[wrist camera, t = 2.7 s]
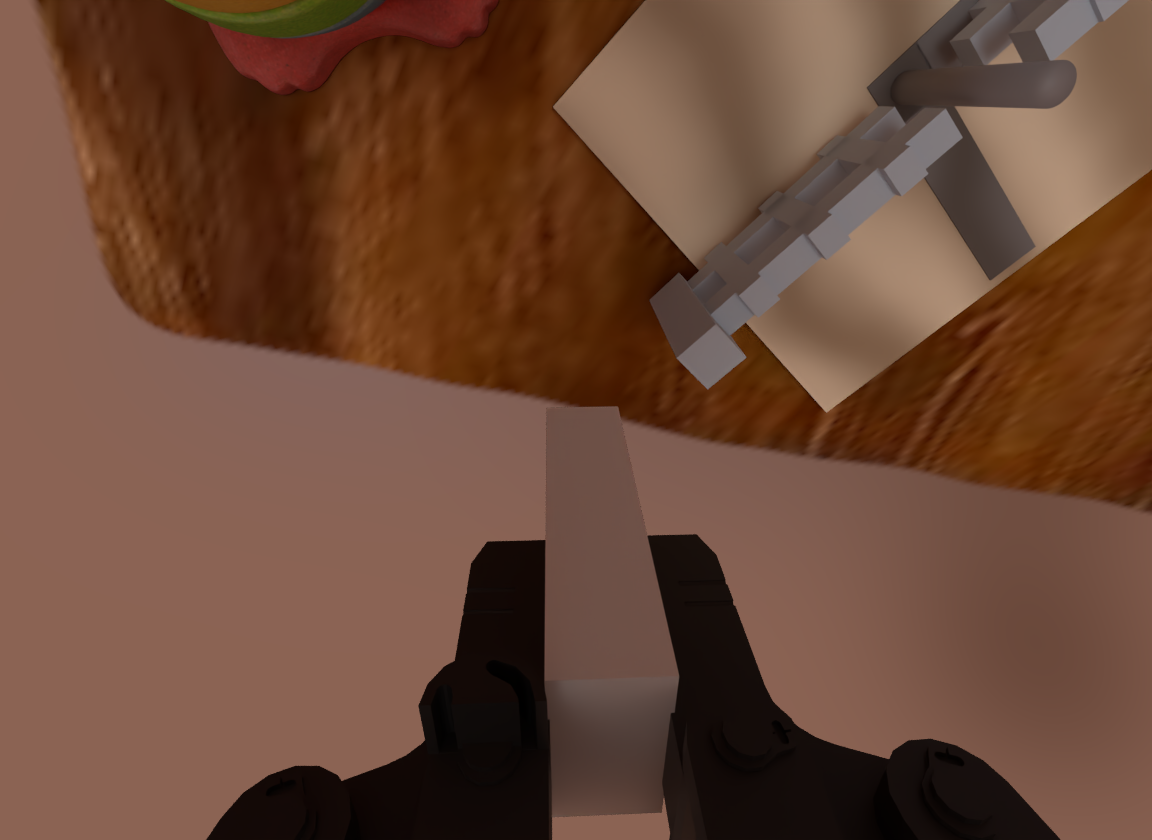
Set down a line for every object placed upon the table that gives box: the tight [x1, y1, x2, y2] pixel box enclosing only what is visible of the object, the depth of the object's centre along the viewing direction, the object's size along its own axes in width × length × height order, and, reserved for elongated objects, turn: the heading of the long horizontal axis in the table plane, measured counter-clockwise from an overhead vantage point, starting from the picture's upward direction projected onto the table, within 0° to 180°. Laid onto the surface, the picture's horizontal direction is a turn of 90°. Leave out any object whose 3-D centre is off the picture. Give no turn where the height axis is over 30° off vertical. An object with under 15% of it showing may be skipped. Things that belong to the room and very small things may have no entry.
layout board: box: [553, 0, 1152, 412], centre depth 24 cm, size 22×20×1 cm
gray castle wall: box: [649, 106, 963, 389], centre depth 22 cm, size 12×2×7 cm, turn 135°
